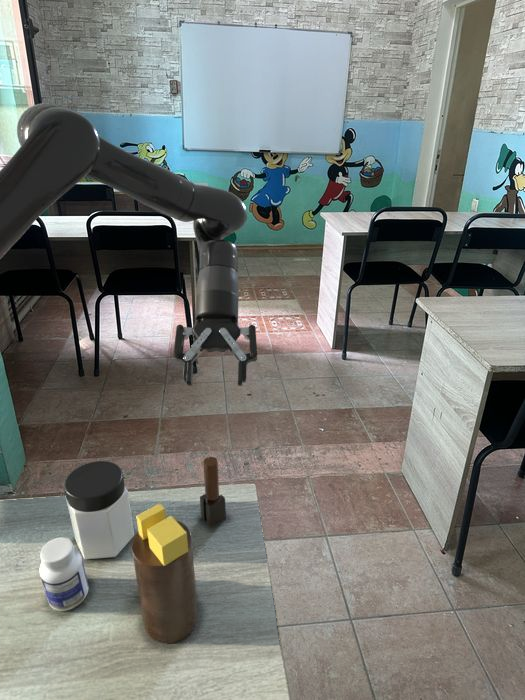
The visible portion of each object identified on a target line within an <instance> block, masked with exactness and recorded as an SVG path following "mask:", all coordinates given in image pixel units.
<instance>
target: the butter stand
mask: <svg viewBox="0 0 525 700" xmlns="http://www.w3.org/2000/svg"><path fill="white" fill-rule="evenodd" d="M175 520H176V521H177V523H178V524H179V525H180V526H181V527H182V528H183V529H184V530H185V531H186V533H187V542H188V552H186V553H185V554H183V555H181V556H180V557H178V558H177V559H175V560H174V561H172V562H170V563H169V564H167V565H166V566H164V565H163V564H162V563H161V561H160V560H159V559H158V558H157V556H156V555H155V554H154V553H153V551H152V550H151V549H150V547H149V540H148V538H146V539H145V540H143V539H142V537H141V536H140V535H139V531H137V532H136V534H134V536H133V538H132V542H131V554H132V559H133V565H134V573H135V579H136V585H137V591H138V596H139V603H140V609H141V615H142V621H143V627H144V629H145V632H146V635H148V637H149V638H150V639H152V640H153V641H154V642H157V643H160V644H173V643H177V642H180V641H181V640H184V638H186V637H187V636H188V635H189V634H191V632H192V631H193V630H194V628H195V627H196V624H197V622H198V617H199V611H198V599H197V597H198V596H197V587H196V586H197V585H196V575H195V574H196V573H195V562H194V550H193V539H192V538H193V537H192V533H191V531H190V529H189V527H188V526H187V525H186V524H184V523H183V522H182V521H179V520H177V519H175Z"/></svg>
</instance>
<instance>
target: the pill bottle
mask: <svg viewBox="0 0 525 700" xmlns="http://www.w3.org/2000/svg"><path fill="white" fill-rule="evenodd" d="M39 555H40V561H41V563H40V565H39V570H38V571H39V576H40V580H41V583H42V587H43V589H44V592H45V596H46V599H47V602H48V604H49V606H50V607H51V608H52V609H53V610H54V611H59V612H67V611H70V610H73V609H75V608H76V607H78V606H79V605H80V604H82V602H83V601H84V600H85V599H86V597H87V595H88V592H89V581H88V577H87V573H86V570H85V565H84V561H83V556H82V553H81V552H80V551H79V550H78V549H76V548H75V547H74V544H73V541H72V540H71V539H69V538H67V537H61V536H60V537H55V538H53V539H51V540H49V541H48V542H46V543H45V544H44V545H43V547H42V548H41V550H40V553H39Z"/></svg>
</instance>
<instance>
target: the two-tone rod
mask: <svg viewBox="0 0 525 700" xmlns="http://www.w3.org/2000/svg"><path fill="white" fill-rule="evenodd" d="M202 463H203V477H204V478H203V480H204V494H205V497H206V503H207V502H209V501H213V500H216V499H218V497H219V496H220V483H219V482H220V481H219V460H218V459H217V457H216V456H208V457H205V458H204V459H203V462H202ZM206 515H207V507H206Z"/></svg>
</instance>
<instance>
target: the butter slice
mask: <svg viewBox="0 0 525 700" xmlns="http://www.w3.org/2000/svg"><path fill="white" fill-rule="evenodd" d="M135 517H136V523H137V530H138V531H139V535H140V536H141V537H142V539H143V540H145V539H146V538H148V533H147V529H148V528H150V527H152V526H153V525H155V524H157V523H159V522H161V521H162V520H164V519H166V518H167V516H166V508H165V507H164V506H163V505H162V503H158V504H156V505H154V506H152V507H150V508H149V509H146V510H145V511H143V512H141V513H139V514H138V515H136V516H135ZM138 531H137V532H138Z"/></svg>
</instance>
